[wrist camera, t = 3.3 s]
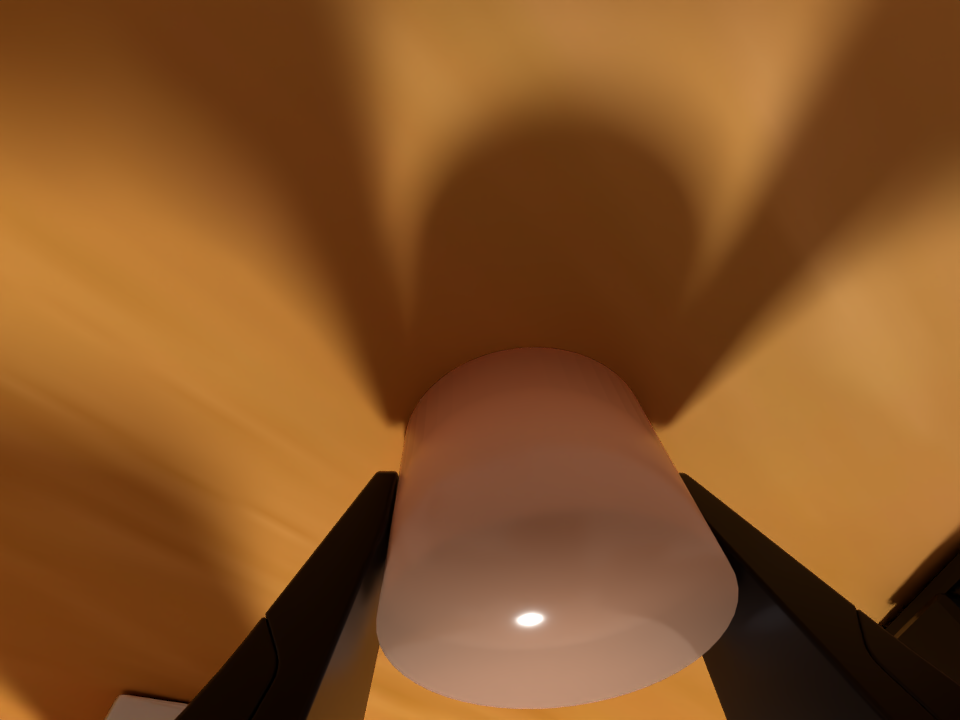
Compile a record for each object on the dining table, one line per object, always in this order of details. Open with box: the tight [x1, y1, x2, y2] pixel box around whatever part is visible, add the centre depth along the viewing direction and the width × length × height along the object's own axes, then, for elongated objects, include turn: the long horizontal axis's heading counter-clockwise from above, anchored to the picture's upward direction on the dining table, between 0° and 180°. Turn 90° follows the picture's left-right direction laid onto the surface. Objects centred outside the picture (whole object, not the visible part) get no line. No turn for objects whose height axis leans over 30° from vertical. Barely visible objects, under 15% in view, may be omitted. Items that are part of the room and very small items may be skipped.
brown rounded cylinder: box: [376, 347, 738, 709], centre depth 9 cm, size 6×6×4 cm
